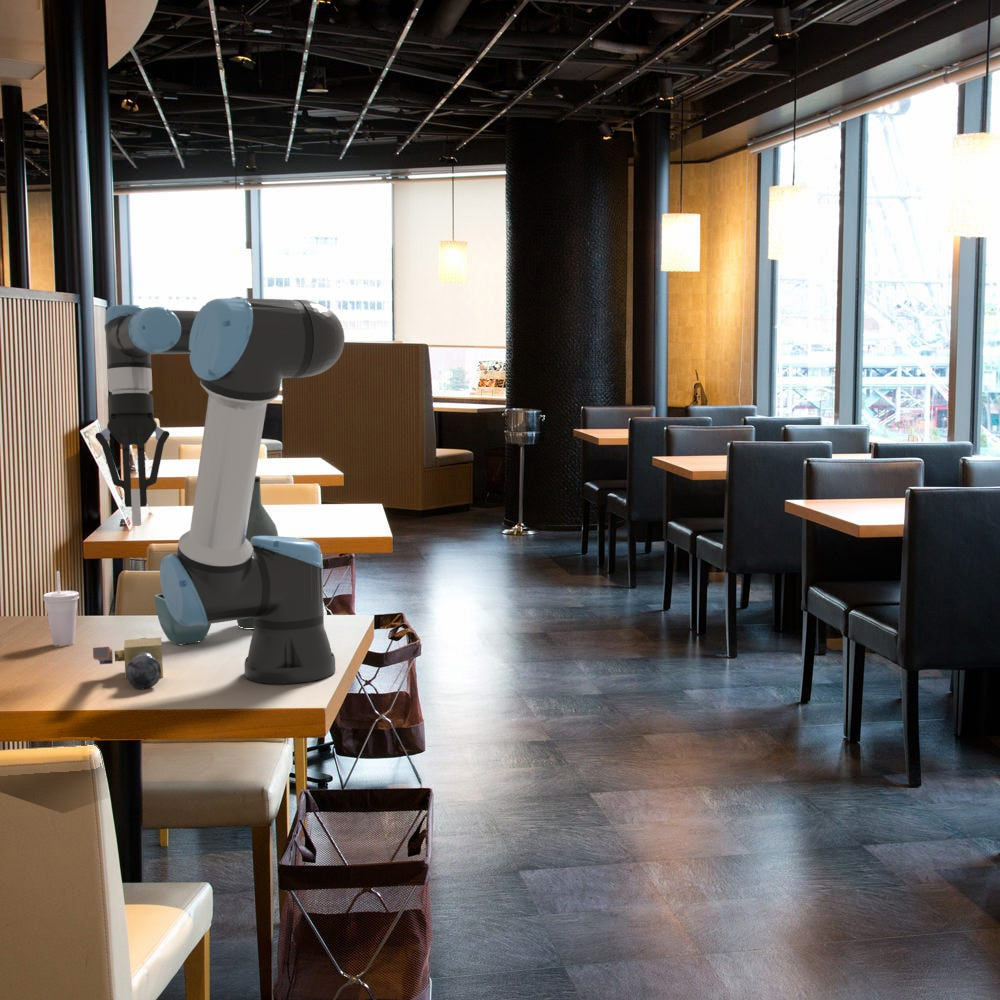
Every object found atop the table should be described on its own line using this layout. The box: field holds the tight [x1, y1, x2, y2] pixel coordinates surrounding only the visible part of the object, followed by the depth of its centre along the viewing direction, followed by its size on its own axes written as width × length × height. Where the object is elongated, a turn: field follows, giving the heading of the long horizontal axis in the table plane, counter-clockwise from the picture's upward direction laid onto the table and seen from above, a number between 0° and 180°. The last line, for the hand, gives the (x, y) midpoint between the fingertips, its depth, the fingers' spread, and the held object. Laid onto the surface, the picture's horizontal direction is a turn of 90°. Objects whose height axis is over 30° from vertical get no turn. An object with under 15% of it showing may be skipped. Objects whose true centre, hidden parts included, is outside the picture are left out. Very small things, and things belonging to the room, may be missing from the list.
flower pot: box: [153, 593, 212, 645], centre depth 227 cm, size 9×9×9 cm
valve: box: [114, 637, 164, 690], centre depth 200 cm, size 14×8×6 cm, turn 16°
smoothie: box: [42, 570, 80, 646], centre depth 225 cm, size 6×6×14 cm
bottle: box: [236, 475, 279, 628], centre depth 239 cm, size 9×9×30 cm
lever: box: [92, 646, 114, 665], centre depth 193 cm, size 2×2×19 cm
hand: (136, 525), depth 214 cm, fingers closed
